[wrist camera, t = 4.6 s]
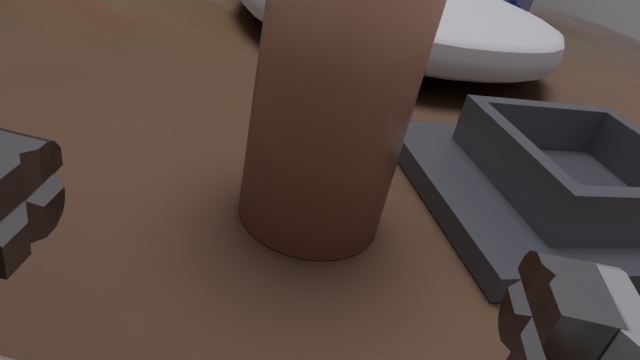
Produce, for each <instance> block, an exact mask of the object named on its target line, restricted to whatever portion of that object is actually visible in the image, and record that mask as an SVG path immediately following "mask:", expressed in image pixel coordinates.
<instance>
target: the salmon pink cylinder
mask: <svg viewBox="0 0 640 360" xmlns="http://www.w3.org/2000/svg"><path fill="white" fill-rule="evenodd" d="M446 1H447V0H266V1H265V9H264V16H263V24H262V31H261V39H260V47H259V54H258V62H257V70H256V77H255V85H254V93H253V100H252V108H251V116H250V123H249V131H248V138H247V146H246V154H245V161H244V169H243V177H242V184H241V192H240V200H239V207H238V209H239V216H240V219H241V221H242V223H243V225H244V226H245V228H246V229H247V231H248V232H249V233H250V234H251V235H252V236H253V237H255V238H256V239H257V240H258V241H260V242H261V243H263V244H264V245H266V246H267V247H269V248H271V249H273V250H275V251H278V252H280V253H283V254H286V255H289V256H292V257H296V258H301V259H306V260H315V261H330V260H339V259H344V258H348V257H351V256H354V255H356V254H358V253H360V252H362V251H363V250H365V249H366V248H367V247H368V246H369V245H370V244H371V242H372V241H373V239H374V237H375V234H376V231H377V228H378V224H379V221H380V218H381V215H382V211H383V208H384V205H385V201H386V198H387V195H388V192H389V188H390V185H391V182H392V178H393V175H394V172H395V169H396V165H397V162H398V159H399V155H400V152H401V149H402V146H403V142H404V139H405V136H406V132H407V129H408V126H409V123H410V119H411V116H412V113H413V110H414V106H415V103H416V100H417V96H418V93H419V90H420V87H421V83H422V80H423V77H424V73H425V70H426V67H427V64H428V60H429V57H430V54H431V50H432V47H433V44H434V41H435V37H436V34H437V31H438V27H439V24H440V21H441V18H442V14H443V11H444V8H445V4H446Z"/></svg>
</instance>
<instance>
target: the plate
mask: <svg viewBox="0 0 640 360" xmlns="http://www.w3.org/2000/svg"><path fill="white" fill-rule="evenodd" d="M240 1H241V2H242V3H243V4H244V6H245V7H246V8H247V9H248V10H249V11H250V12H251V13H252V14H253V16H254V17H256V18H257V19H259V20H260V21H262V22H263V16H264V9H265V1H266V0H240ZM563 52H564V37H563V35H562V34H561V33H560V32H559V31H557V30H556V29H555V28H553V27H552V26H550V25H549V24H548V23H546V22H545V21H543V20H542V19H540V18H538V17H536V16H535V15H533V14H531V13H529V12H527V11H525V10H523V9H521V8H518V7H516V6H514V5H512V4H510V3H508V2H505V1H503V0H447V1H446V4H445V8H444V11H443V14H442V18H441V21H440V24H439V27H438V31H437V34H436V37H435V41H434V44H433V47H432V50H431V54H430V57H429V60H428V64H427V67H426V70H425V73H424V76H428V77H434V78H440V79H446V80H458V81H470V82H481V83H515V82H524V81H533V80H539V79H541V78H543V77H545V76H547V75H549V74H551V73H553V71H554V70H555V69H556V68H557V67H558V66H559V64H560V62H561V60H562V56H563Z"/></svg>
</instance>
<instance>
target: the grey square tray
mask: <svg viewBox="0 0 640 360" xmlns="http://www.w3.org/2000/svg"><path fill="white" fill-rule="evenodd" d="M398 163H399V165H400V166H401V168H402V169H403V171H404V172H405V174H406V175H407V177H408V178H409V180H410V181H411V183H412V184H413V186H414V187H415V189H416V191H417V192H418V194H419V195H420V197H421V198H422V200H423V201H424V203H425V204H426V206H427V207H428V209H429V210H430V212H431V213H432V215H433V216H434V218H435V219H436V221H437V223H438V224H439V226H440V227H441V229H442V230H443V232H444V233H445V235H446V236H447V238H448V239H449V241H450V242H451V244H452V245H453V247H454V248H455V250H456V251H457V253H458V255H459V256H460V258H461V259H462V261H463V262H464V264H465V265H466V267H467V268H468V270H469V271H470V273H471V274H472V276H473V277H474V279H475V280H476V282H477V283H478V285H479V287H480V288H481V290H482V291H483V293H484V294H485V296H486V297H487V299H488V300H489V302H490V303H494V302H501V301H502V299H503V297H504V295H505V292H506V290H507V288H508V287H509V286H511V285H513V284H515V283H517V282H518V281H520V280H521V278H520V274H519V271H518V266H519V265H520V263H521V261H522V259H523V257H524V256H525V255H526V254H527V253H528V252H529V251H530V250H532V251H537V252H542V253H546V254H551V255H556V256H561V257H566V258H571V259H576V260H580V261H585V262H592V263H598V264H603V265H608V266H613V267H618V268H620V269H622V270H623V271H624V272H626V273H627V275H628V277H629V278H630V280H631V282H632V284H633V285H634V287H635V289H636V290H637V292H638V294H639V296H640V128H639V127H638V126H636V125H635V124H633V123H632V122H630V121H629V120H627V119H626V118H624V117H623V116H621V115H620V114H618V113H617V112H615V111H614V110H612V109H611V108H609V107H600V106H589V105H578V104H567V103H556V102H545V101H534V100H523V99H512V98H501V97H489V96H478V95H467V97H466V100H465V103H464V105H463V108H462V111H461V114H460V117H459V119H458V122H457V124H453V123H439V122H425V121H411V120H410V123H409V126H408V129H407V132H406V136H405V139H404V142H403V146H402V149H401V152H400V155H399V159H398Z"/></svg>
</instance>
